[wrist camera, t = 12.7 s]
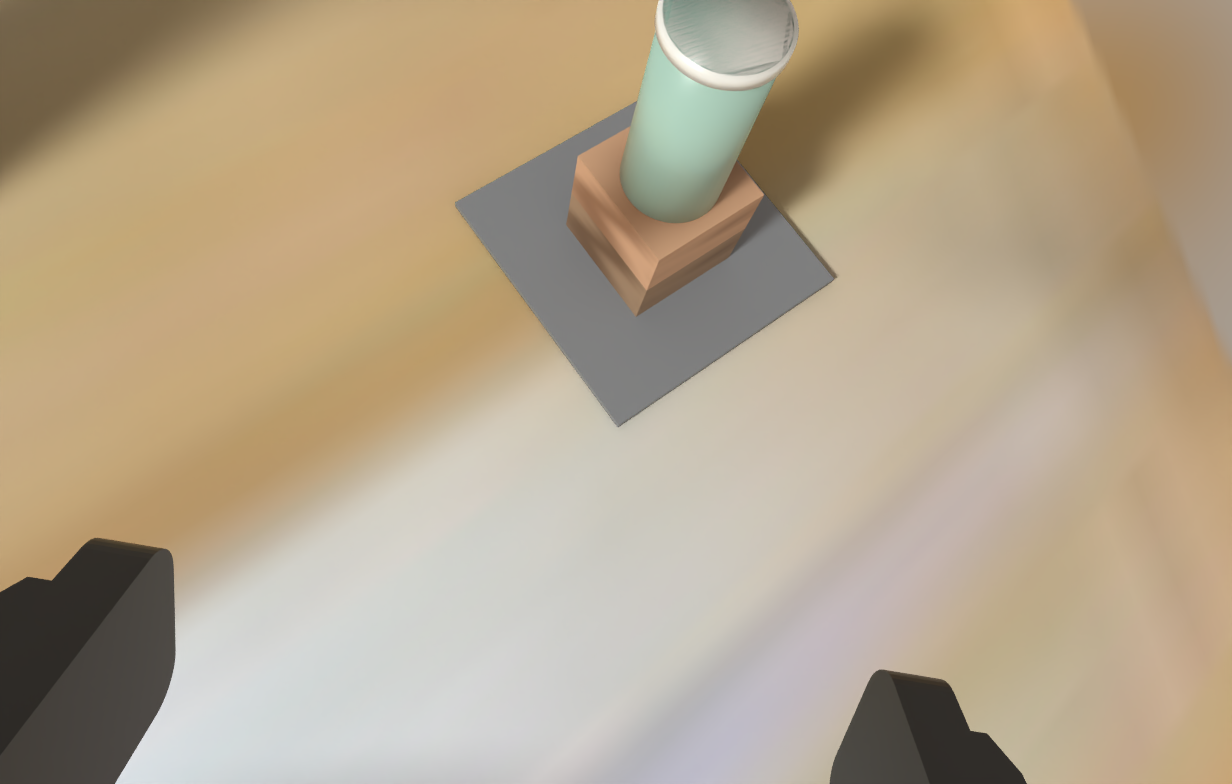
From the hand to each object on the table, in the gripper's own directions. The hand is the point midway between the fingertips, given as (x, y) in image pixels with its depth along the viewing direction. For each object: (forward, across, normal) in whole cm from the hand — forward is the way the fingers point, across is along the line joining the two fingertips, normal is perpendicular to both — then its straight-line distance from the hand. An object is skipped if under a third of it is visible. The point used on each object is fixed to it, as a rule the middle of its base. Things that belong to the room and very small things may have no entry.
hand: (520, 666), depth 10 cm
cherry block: (+35, -4, +4) cm, 35 cm away
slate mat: (+37, -4, +6) cm, 38 cm away
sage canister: (+32, -4, +1) cm, 33 cm away
